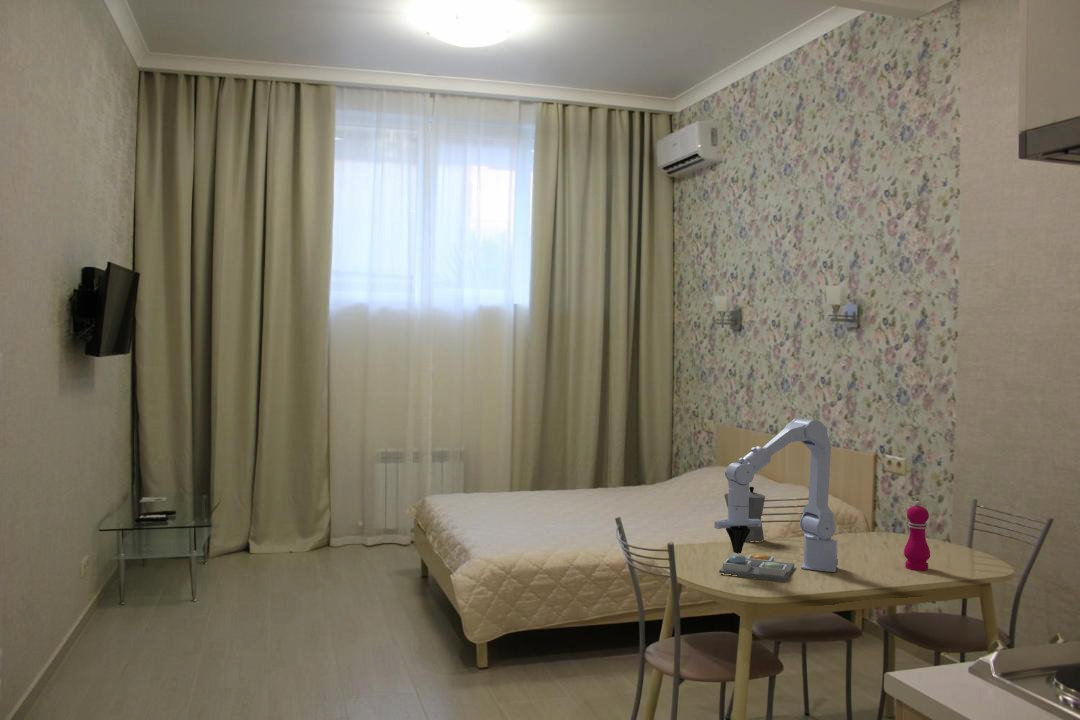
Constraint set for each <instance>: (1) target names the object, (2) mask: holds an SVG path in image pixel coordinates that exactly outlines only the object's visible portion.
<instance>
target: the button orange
mask: <svg viewBox="0 0 1080 720" xmlns="http://www.w3.org/2000/svg"><path fill="white" fill-rule="evenodd" d="M752 554H753V555H752V559H760V560H768V556H769V555H767V554H762V553H752Z"/></svg>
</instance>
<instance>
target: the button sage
mask: <svg viewBox="0 0 1080 720" xmlns="http://www.w3.org/2000/svg"><path fill="white" fill-rule="evenodd" d="M765 567H767V568H776V569H782V565H781V564H780V563H775V562H766V563H765Z"/></svg>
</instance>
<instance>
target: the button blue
mask: <svg viewBox="0 0 1080 720" xmlns="http://www.w3.org/2000/svg"><path fill="white" fill-rule="evenodd" d="M728 558H729V563H732V564H745V562H746V558H747V557H746V556H745V555H742V554H729V556H728Z"/></svg>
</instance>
